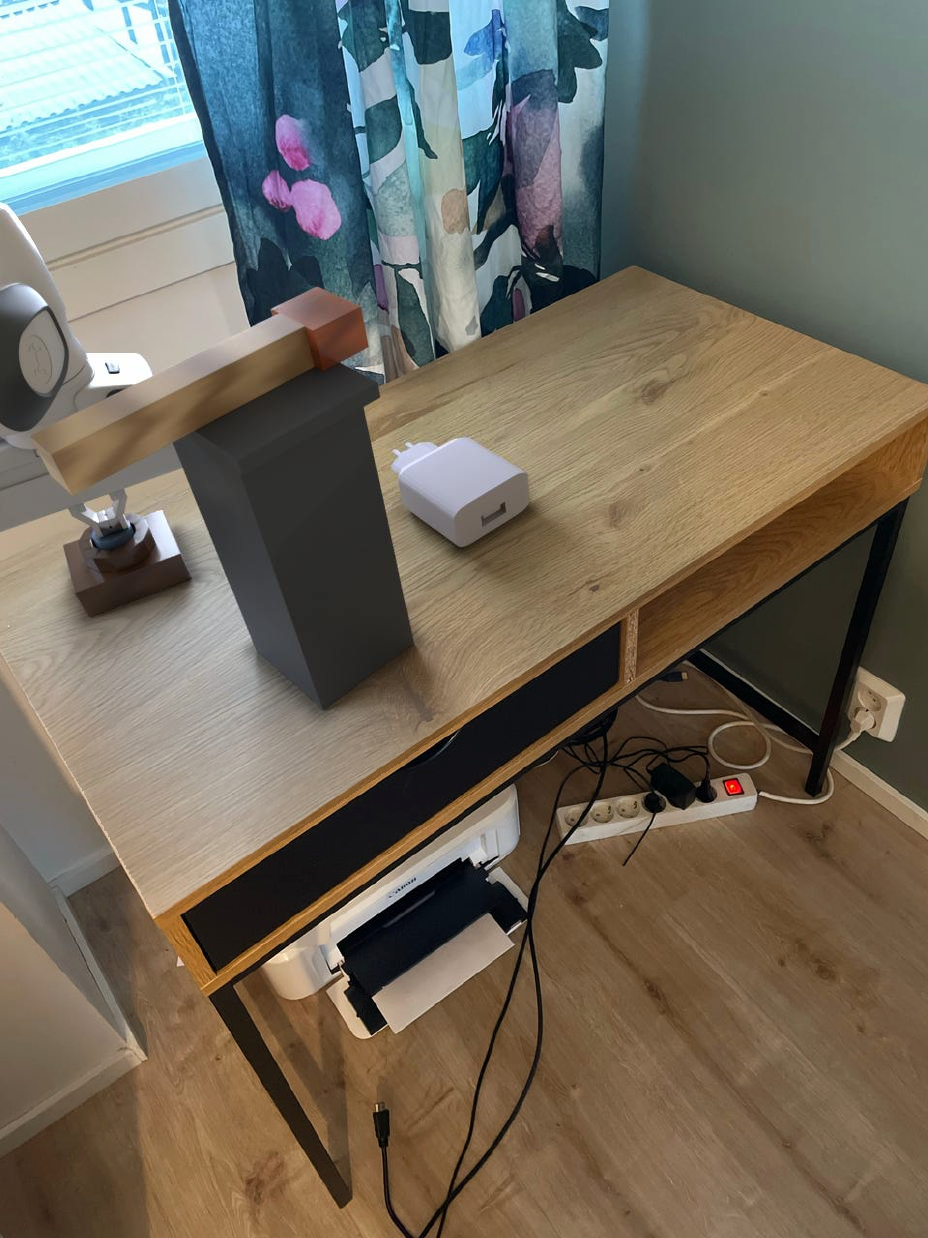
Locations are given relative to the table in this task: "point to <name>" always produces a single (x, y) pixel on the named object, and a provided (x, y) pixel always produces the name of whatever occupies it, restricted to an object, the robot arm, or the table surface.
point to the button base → (126, 564)
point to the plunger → (113, 539)
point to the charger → (460, 488)
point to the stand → (304, 529)
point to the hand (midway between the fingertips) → (112, 529)
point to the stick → (201, 389)
